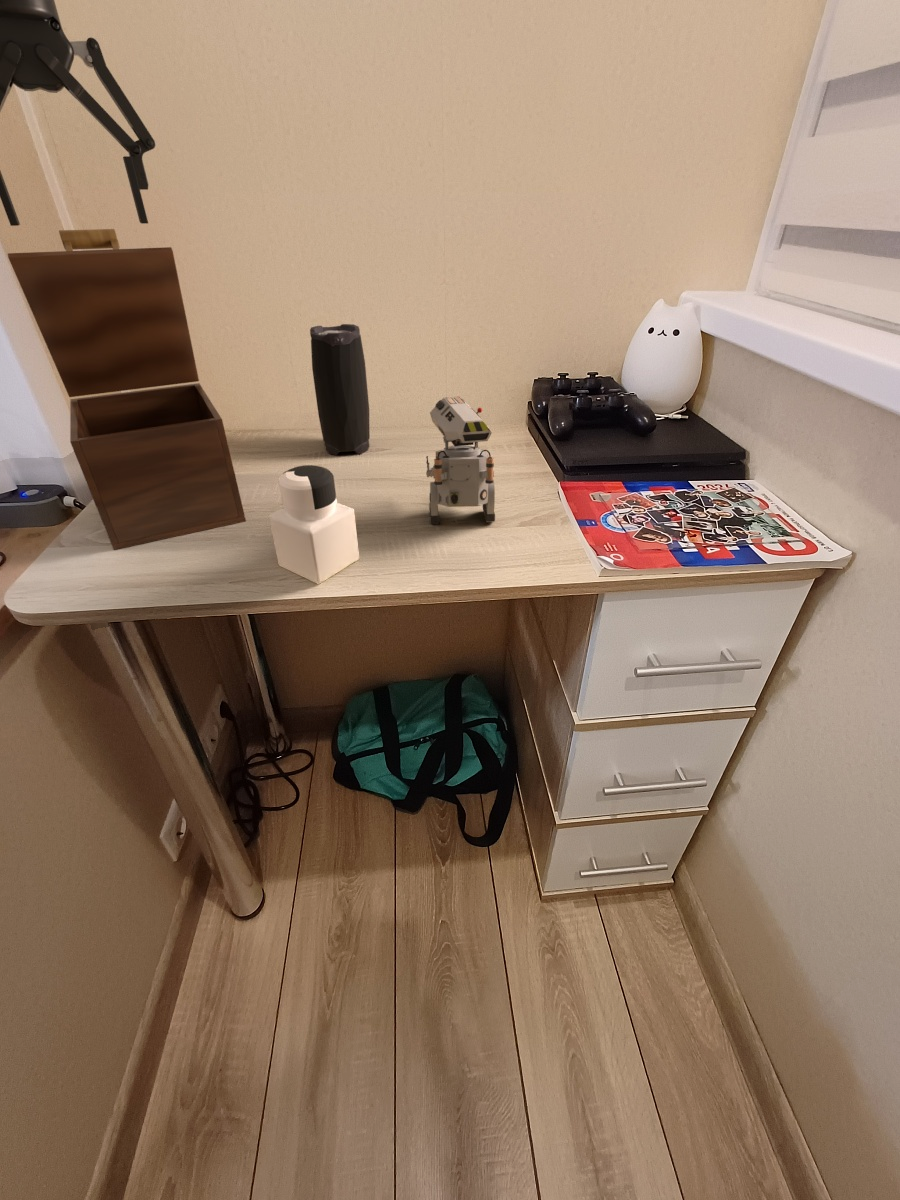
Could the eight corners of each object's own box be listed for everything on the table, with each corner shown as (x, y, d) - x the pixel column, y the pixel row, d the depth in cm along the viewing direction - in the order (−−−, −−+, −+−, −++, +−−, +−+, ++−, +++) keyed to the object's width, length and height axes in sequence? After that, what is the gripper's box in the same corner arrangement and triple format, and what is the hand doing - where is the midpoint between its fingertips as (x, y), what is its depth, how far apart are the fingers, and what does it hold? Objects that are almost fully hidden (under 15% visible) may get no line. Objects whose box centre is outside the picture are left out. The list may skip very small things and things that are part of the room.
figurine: (486, 492, 87) (490, 392, 78) (496, 529, 78) (502, 420, 69) (426, 494, 86) (424, 393, 77) (429, 531, 77) (426, 421, 68)
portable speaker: (366, 436, 105) (356, 320, 94) (376, 455, 98) (367, 332, 87) (319, 441, 103) (304, 323, 92) (326, 461, 96) (310, 336, 85)
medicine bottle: (320, 542, 75) (307, 454, 68) (360, 559, 71) (351, 469, 64) (277, 566, 70) (258, 474, 63) (318, 585, 67) (303, 491, 60)
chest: (246, 521, 79) (222, 418, 71) (113, 550, 73) (70, 441, 64) (222, 474, 92) (199, 382, 83) (107, 496, 85) (70, 399, 77)
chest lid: (172, 250, 68) (156, 211, 71) (7, 257, 61) (-1, 213, 65) (199, 381, 83) (184, 344, 86) (69, 397, 76) (59, 356, 80)
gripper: (137, -9, 63) (187, 220, 76) (-153, -46, 54) (-40, 224, 66) (143, -27, 58) (196, 223, 70) (-177, -71, 48) (-50, 227, 61)
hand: (82, 224), depth 68 cm, fingers open, 13 cm apart
